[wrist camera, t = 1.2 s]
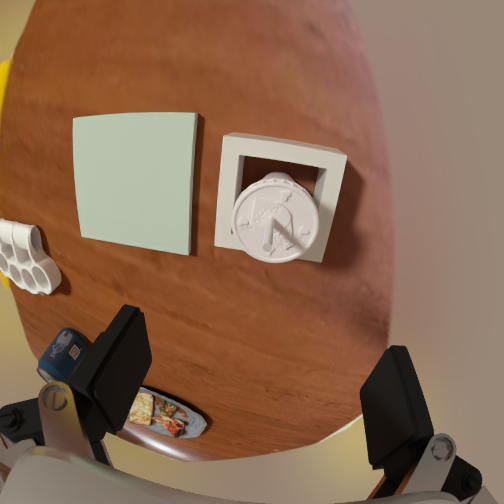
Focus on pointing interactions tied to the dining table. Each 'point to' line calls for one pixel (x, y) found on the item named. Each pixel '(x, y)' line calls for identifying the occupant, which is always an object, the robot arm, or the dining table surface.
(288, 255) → the smoothie
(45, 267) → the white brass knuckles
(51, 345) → the soda can
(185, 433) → the food plate
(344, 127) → the dining table surface
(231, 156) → the drink caddy
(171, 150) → the serving mat
